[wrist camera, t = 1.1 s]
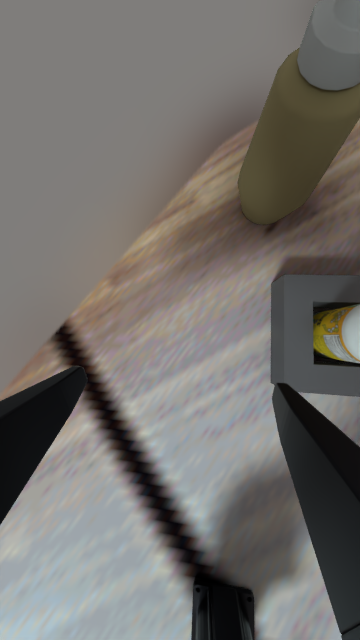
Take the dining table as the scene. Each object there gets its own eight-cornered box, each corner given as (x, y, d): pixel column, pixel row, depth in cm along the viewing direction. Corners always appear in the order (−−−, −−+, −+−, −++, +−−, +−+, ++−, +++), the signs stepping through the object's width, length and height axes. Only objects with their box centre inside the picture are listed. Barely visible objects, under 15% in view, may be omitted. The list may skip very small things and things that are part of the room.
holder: (382, 390, 21) (418, 401, 17) (270, 382, 22) (284, 391, 19) (377, 285, 22) (411, 276, 18) (271, 283, 23) (284, 274, 20)
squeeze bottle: (221, 221, 24) (285, -92, 7) (247, 167, 25) (373, -272, 7) (281, 243, 23) (548, -55, 6) (307, 186, 24) (638, -270, 6)
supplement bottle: (315, 365, 22) (405, 387, 12) (291, 324, 22) (358, 316, 13) (357, 344, 22) (483, 350, 12) (332, 303, 22) (432, 279, 13)
